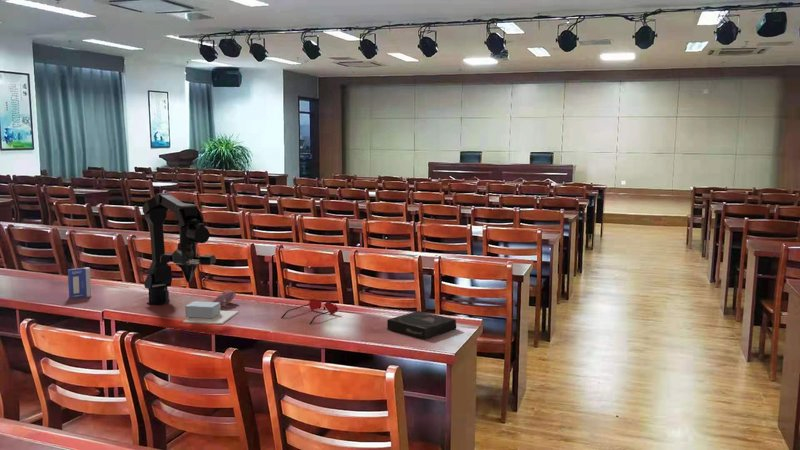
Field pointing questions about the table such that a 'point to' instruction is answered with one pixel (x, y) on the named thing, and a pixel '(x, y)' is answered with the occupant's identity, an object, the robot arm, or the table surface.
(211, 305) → the slab
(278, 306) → the table surface
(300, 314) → the table surface
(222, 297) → the video game controller
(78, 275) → the walkman
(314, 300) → the glasses
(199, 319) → the mat
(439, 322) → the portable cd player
